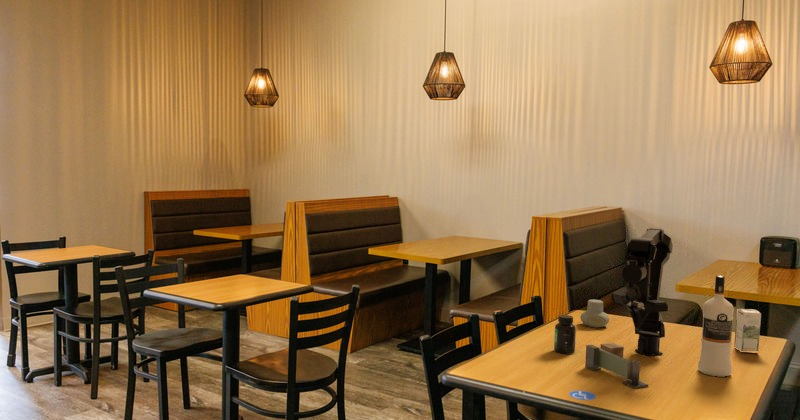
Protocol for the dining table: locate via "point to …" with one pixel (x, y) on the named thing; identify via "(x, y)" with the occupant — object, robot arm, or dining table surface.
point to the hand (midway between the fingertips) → (637, 328)
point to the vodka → (716, 333)
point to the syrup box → (747, 329)
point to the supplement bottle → (565, 335)
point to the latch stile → (592, 357)
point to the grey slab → (615, 364)
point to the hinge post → (635, 377)
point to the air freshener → (594, 314)
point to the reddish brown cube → (613, 349)
